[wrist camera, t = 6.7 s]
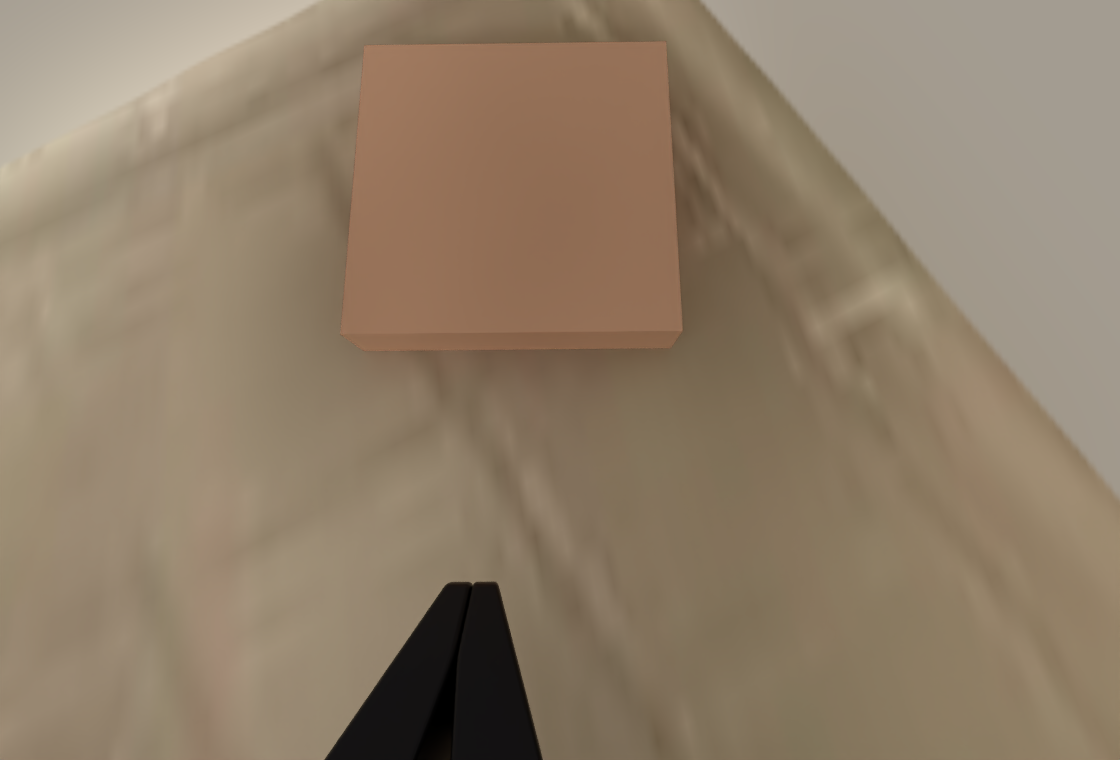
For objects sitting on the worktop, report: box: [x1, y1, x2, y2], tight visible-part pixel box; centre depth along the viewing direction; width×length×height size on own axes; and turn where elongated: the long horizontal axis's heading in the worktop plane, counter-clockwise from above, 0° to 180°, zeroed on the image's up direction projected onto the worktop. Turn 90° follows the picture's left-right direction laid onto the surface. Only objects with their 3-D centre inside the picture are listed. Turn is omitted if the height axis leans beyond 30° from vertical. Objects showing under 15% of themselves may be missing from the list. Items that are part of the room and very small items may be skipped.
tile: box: [340, 41, 683, 351], centre depth 18 cm, size 2×10×10 cm
